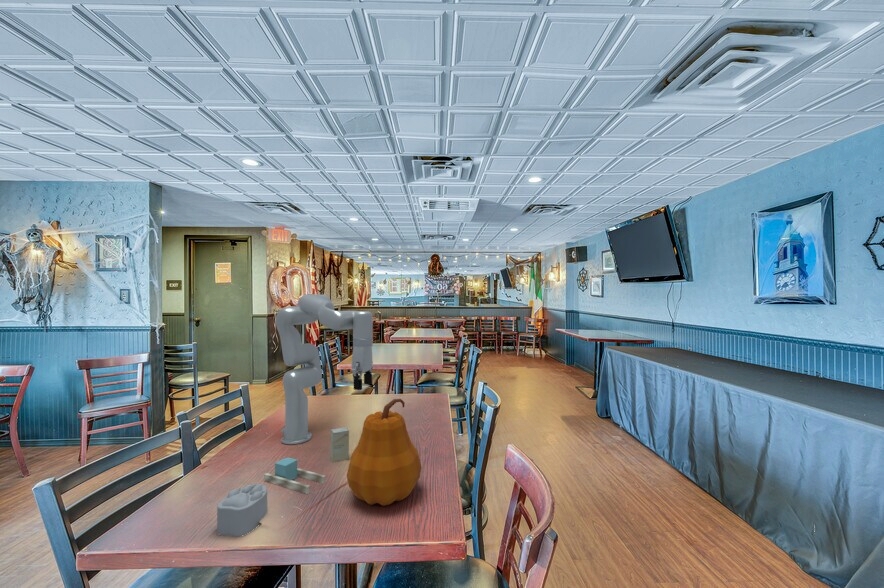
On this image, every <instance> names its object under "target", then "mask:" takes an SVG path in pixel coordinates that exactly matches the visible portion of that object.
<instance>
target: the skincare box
mask: <svg viewBox="0 0 884 588" xmlns="http://www.w3.org/2000/svg"><path fill="white" fill-rule="evenodd" d="M349 440H350V430H349V428H348V427H347V426H345V427H339V428H333V429H330V460H331V462H332V463H336V462H342V461H347V462H348V461H349V462H350V459H349V458H350V457H349V456H350V455H349V451H350V449H349V447H350V442H349Z"/></svg>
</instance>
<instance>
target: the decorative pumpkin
mask: <svg viewBox="0 0 884 588" xmlns="http://www.w3.org/2000/svg"><path fill="white" fill-rule="evenodd" d="M397 403H400V404H401V405H402V408H405V402H404V401H403V399H401V398H396V399H395V398H394V399H392V400H391V401H390V402H388V403H387V404H385V406H384V407H383V410H382V411H376V412H374V413H370V414H369V415H367V416H366V418H365V420H364V421H363V426H362V431H361V434H360V437H359V440H358V442H357V445H356V447H355V448H354V450H353V452H351V456H350V459H349V464H348V469H347V473H346V478H347V482H348V483H347V484H348V487H349V489H350V490H351V491H352V493H353V494H354V496H356V498H357V499H359V500H361V501H364V502H366V503H367V504H368V505H371V506H373V505H375V504H379V505H380V506H383V507H385V506H390V505H391V504H393V503H394V502H401V501H403V500H404V499H406V498H407V497H409V496H410V494H411V492H412V491H413V490H414V488H415V486H416V484H417V482H418V481H419V479H420V476H421V472H422V471H421V470H422V464H421V463H422V462H421V459H420V454H419V451H418V449H417V448H416V446H415V445H414V444H413V442H412V439H411V438H410V435H409V432H408V430H407V425H406V421H405V418H404V417H403V415H402V414H400V413H399V412H398V411H394V412H392V410H390V409H391V408H392V407H394V405H396V404H397Z"/></svg>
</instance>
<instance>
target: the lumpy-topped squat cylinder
mask: <svg viewBox="0 0 884 588" xmlns="http://www.w3.org/2000/svg"><path fill="white" fill-rule="evenodd" d="M216 507H217V509H216V510H217V512H216V515H217V517H216V522H217V523H216V534H217V533H218V534H220V535H219V536H229V535H230V537H233V536H235V538H239V537H238V536H241V537H243V536H242V535H244V536H246V535H245V534H247V533H249V532H250V533H252V532H253V531H254V530H255V529H257V528H258V527H259V526H260V525H262V522H260V521H261V520H263V518H265V516H266V515H267V513H268V488H267V486H266V485H265V484H262V483H261V484H260V483H255V484H252V483H251V484H247V485H245V486H244V487H241V488H234V489H231V490H230V491H229V492H228V494H227V496H225V497H224V498H223V499H222V500H221V501H219V502H218V503H217V505H216ZM258 525H259V526H258ZM257 526H258V527H257ZM256 527H257V528H256ZM253 529H254V530H253ZM252 530H253V531H252ZM251 531H252V532H251ZM250 533H249V534H250ZM218 534H217V535H218ZM247 535H248V534H247Z"/></svg>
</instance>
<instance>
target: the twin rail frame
mask: <svg viewBox="0 0 884 588" xmlns="http://www.w3.org/2000/svg"><path fill="white" fill-rule="evenodd" d="M298 477H299V478H302V479H306V480H309V481H312V482H316V483H319V484H325V483H327V481H326V479H327V477H326V474H325V475H324V474H322V473H321V474H320V473H318V472H313V471H310V470H306V469H302V468H298V467H297V478H298ZM263 481H264V482H267V483H270V484H272V485H275V486H279V487H283V488H285V489H288V490H293V491H295V492H299V493H302V494H304V495H305V494H306V495H309V494H310V493H311V485H310V484H306V483H304V482H303V483H302V482H300V481H294V480H289V479H286V478H282V477H279V476H275V474H271V473H269V472H265V473H264V474H263Z"/></svg>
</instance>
